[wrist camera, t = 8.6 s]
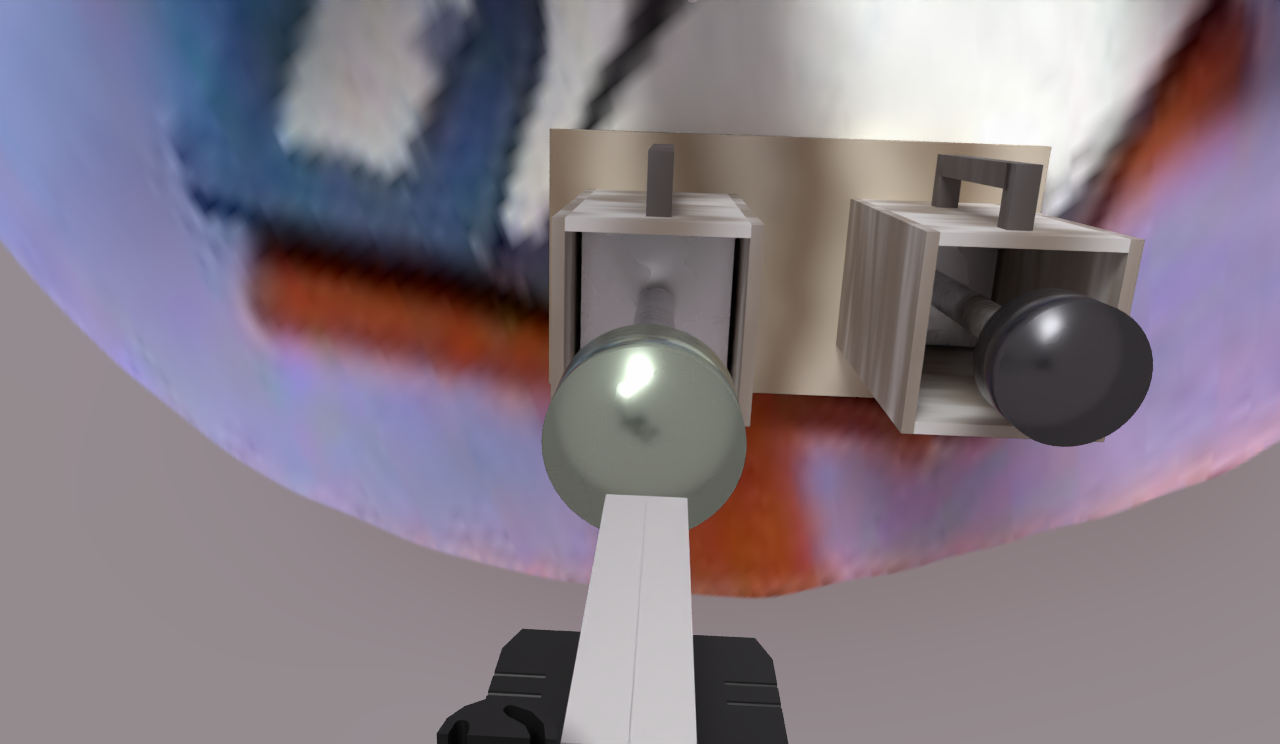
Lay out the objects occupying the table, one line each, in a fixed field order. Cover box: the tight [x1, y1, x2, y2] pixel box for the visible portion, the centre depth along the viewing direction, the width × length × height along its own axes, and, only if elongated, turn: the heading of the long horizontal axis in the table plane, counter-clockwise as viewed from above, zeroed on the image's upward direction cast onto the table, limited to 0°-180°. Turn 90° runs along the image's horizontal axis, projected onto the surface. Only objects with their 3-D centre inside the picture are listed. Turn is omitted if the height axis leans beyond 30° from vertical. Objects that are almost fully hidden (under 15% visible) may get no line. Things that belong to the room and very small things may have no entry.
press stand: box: [549, 129, 1145, 442], centre depth 41 cm, size 26×14×16 cm, turn 88°
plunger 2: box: [925, 246, 1153, 447], centre depth 36 cm, size 6×6×17 cm
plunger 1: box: [542, 232, 746, 529], centre depth 29 cm, size 6×6×17 cm
